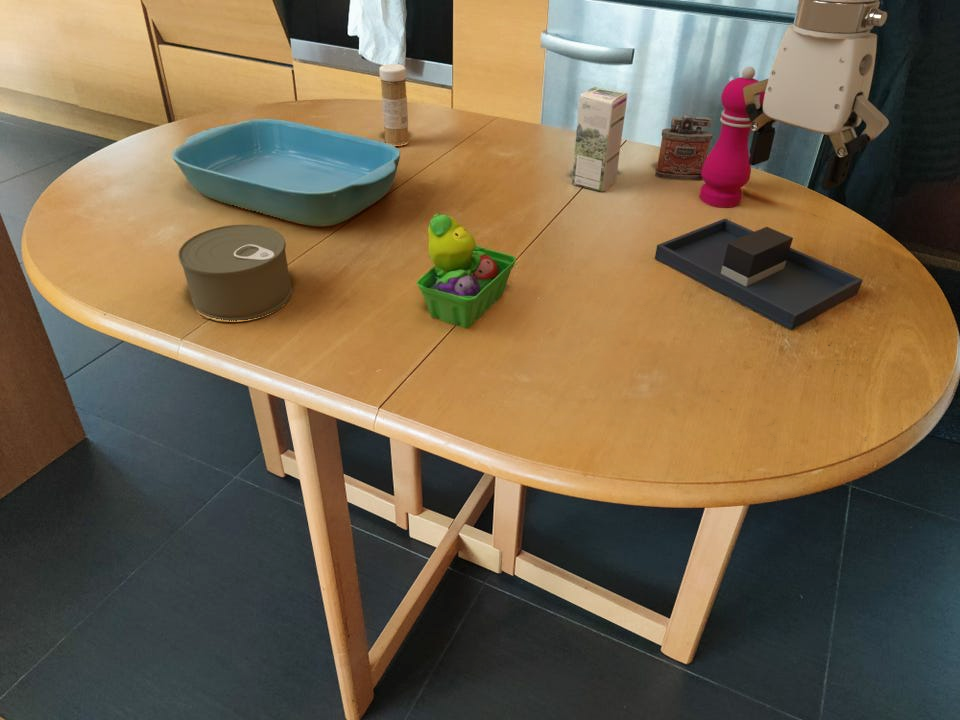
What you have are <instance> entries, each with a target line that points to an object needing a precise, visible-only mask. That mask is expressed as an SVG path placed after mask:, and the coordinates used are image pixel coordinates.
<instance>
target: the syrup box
mask: <svg viewBox="0 0 960 720" xmlns="http://www.w3.org/2000/svg"><path fill="white" fill-rule="evenodd" d="M627 102H628V92H624V91H619V90H612V89H607V88H603V87H597V86H594V87H592V88H589V89H587V90H586V91H585V90H584V92H582V93H581V94H580V95H579V98H578V109H577V121H576V130H575V131H576V132H575V139H574V140H575V142H574V153H573V154H574V155H573V163H572V176H571V185H574V186H578V187H581V188H585V189H588V188H589V189H588V190H593V191H597V192H601V193H603V192H605V191H606V190H607V189H609V188H610V187H611V186H612V185H614V184H615V183H616V182H617V178H618V170H619V161H620V153H621V147H622V146H621V145H622V137H623V130H624V123H625V117H626V109H627ZM609 186H610V187H609ZM605 189H606V190H605Z"/></svg>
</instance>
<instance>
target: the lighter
mask: <svg viewBox="0 0 960 720" xmlns="http://www.w3.org/2000/svg"><path fill="white" fill-rule="evenodd" d="M711 123H712V119H711V118H710V117H706V116H705V117H704V116H696V117H692V116H691V115H690V114H684V115H683V116H671V121H670V128H663V129H662V130H661V141H660V148H659V154H658V160H657V165H656V168H655V172H654V176H655V177H656V178H659V179H665V180H672V181H673V180H674V181H691V182H692V181H695V182H696V181H698V182H699V181H704V180H703V178H702V175H701V171H702V168H703V164H704V162H705V160H706V158H707V157H708V155H709V150H710V145H711V141H712V139H713V136H714V133H713V132H712V131H710V130H705V129H702V128H710V127H711ZM694 127H696V128H694Z"/></svg>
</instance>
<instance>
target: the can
mask: <svg viewBox="0 0 960 720" xmlns="http://www.w3.org/2000/svg"><path fill="white" fill-rule="evenodd" d="M286 245H287V244H286V239H285V238H284V236H283V235H282V233H280V232H278V230H276V229H273V228H271V227H267V226H263V225H257V224H232V225H231V224H230V225H224V226H218V227H215V228H211V229H208V230H205V231H202V232H200V233H198V234H195V235H194V236H192V237H190V238H189V239H187V240H186V241H185V242H184V243H183V244H182V245H181V246H180V248H179V250H178V254H177V255H178V260H179V262H180V264H181V267H182V268H183V272H184V276H185V279H186V283H187V287H188V291H189V294H190V297H191V300H192V305H194V306H193V308H194V307H195V308H196V310H198V311H199V312H200V313H202V314H204V315H206V316H209V317H212V318H216V319H221V320H222V319H223V320H229V321H230V320H231V321H232V320H233V321H234V320H235V321H237V320H248V319H254V318H258V317H262V316H265V315H267V314H270V313H272V312H274V311H276V310H278V309H279V308H281V307H282V306H283V305H284V304H286V302H287V301H288V300H289V301H290V299H291V297H292V293H291V292H292V285H291V280H290V273H289V267H288V261H287V254H286ZM289 298H290V299H289ZM289 301H288V302H289ZM288 302H287V303H288ZM286 305H287V304H286ZM195 308H194V309H195ZM282 308H283V307H282ZM282 308H281V309H282ZM196 310H195V311H196ZM278 311H279V310H278Z"/></svg>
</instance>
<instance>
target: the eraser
mask: <svg viewBox="0 0 960 720" xmlns="http://www.w3.org/2000/svg"><path fill="white" fill-rule="evenodd" d="M793 239H794V237H792V236H791V235H790V236H789V235H788V234H785V233H783V232H780V231H778V230H776V229H773V228H771V227H768V226H764V227H762V228H760V229H758V230H755V231H754V232H753V233H750V234H748V235H746V236H743V237H741V238H738V239H736V240H734V241H731V242H729V243H728V246H727V250H726V254H725V258H724V262H723V266H722V270H721V274H722V275H724V276H726V277H728V278H730V279H732V280H734V281H736V282H738V283H740V284H742V285H744V286H748V285H751V284H753V283H755V282H757V281H759V280H761V279H763V278H765V277H767V276H769V275H772V274H774V273H776V272H778V271H780V270H782V269H784V267H785V263H786V260H787V257H788V253H789V250H790V248H792V247H791V246H792V243H793Z"/></svg>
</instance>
